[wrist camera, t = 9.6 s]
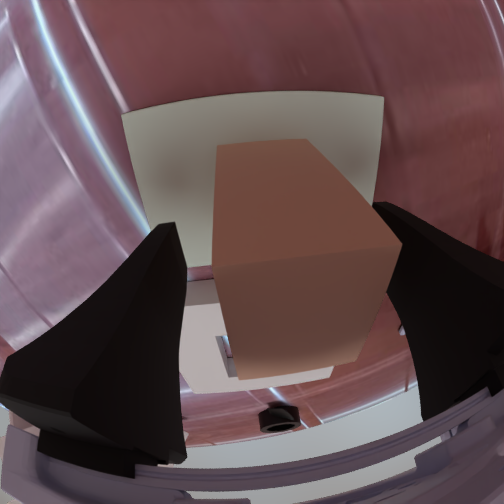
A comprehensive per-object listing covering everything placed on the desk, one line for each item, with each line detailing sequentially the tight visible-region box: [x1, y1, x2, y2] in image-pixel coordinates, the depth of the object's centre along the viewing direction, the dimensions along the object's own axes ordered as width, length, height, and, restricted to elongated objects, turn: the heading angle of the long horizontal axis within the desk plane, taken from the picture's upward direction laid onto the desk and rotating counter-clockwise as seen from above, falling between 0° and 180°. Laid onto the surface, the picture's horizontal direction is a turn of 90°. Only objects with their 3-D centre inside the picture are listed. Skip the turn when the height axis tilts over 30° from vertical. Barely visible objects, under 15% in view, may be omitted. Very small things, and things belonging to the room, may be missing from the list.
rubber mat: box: [121, 91, 384, 267], centre depth 13 cm, size 12×9×1 cm
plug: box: [212, 139, 402, 380], centre depth 10 cm, size 4×5×8 cm
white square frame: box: [179, 279, 334, 394], centre depth 20 cm, size 13×13×2 cm
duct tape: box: [259, 406, 301, 433], centre depth 34 cm, size 8×10×3 cm
